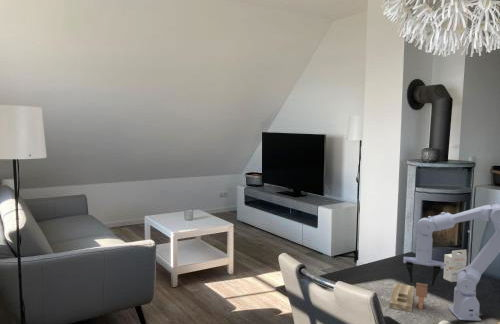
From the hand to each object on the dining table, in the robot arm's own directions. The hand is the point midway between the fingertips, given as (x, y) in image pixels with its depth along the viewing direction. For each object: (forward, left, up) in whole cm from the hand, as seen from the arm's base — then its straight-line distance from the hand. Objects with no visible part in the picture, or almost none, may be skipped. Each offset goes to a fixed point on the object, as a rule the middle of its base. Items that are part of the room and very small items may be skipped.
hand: (422, 282), depth 160 cm
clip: (0, 0, -9) cm, 9 cm away
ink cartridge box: (+30, -26, -10) cm, 41 cm away
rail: (+6, +5, -9) cm, 12 cm away
